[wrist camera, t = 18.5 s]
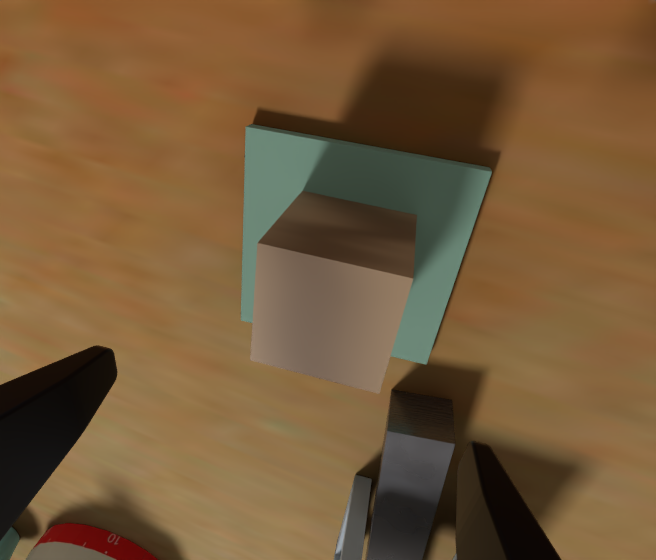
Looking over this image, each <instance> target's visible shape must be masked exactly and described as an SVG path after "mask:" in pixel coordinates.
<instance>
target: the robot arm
mask: <svg viewBox="0 0 656 560" xmlns="http://www.w3.org/2000/svg"><path fill="white" fill-rule="evenodd" d="M116 378H117V367H116V361H115V356H114V352H113V350H112V349H110V348H107V347H103V346H93V347H90V348H88V349H85V350H83V351H81V352H78V353H76V354H73V355H71V356H69V357H66V358H64V359H61V360H59V361H57V362H54V363H52V364H49V365H47V366H45V367H42V368H40V369H37V370H35V371H33V372H30V373H28V374H25V375H23V376H21V377H18V378H16V379H13V380H11V381H9V382H6V383H4V384H1V385H0V541H1V540H2V538H3V537H4V536H5V534H6V533H7V532H8V530H9V529H10V528H11V527H12V525H13V524H14V523H15V521H16V520H17V519H18V517H19V516H20V515H21V513H22V512H23V511H24V510H25V508H26V507H27V506H28V504H29V503H30V502H31V500H32V499H33V498H34V497H35V495H36V494H37V493H38V491H39V490H40V489H41V487H42V486H43V485H44V483H45V482H46V481H47V480H48V478H49V477H50V476H51V474H52V473H53V472H54V470H55V469H56V468H57V466H58V465H59V464H60V463H61V461H62V460H63V459H64V457H65V456H66V455H67V453H68V452H69V451H70V449H71V448H72V447H73V446H74V444H75V443H76V442H77V440H78V439H79V437H80V436H81V435H82V433H83V432H84V430H85V429H86V427H87V426H88V424H89V423H90V421H91V419H92V418H93V416H94V415H95V413H96V411H97V410H98V408H99V406H100V405H101V403H102V402H103V400H104V398H105V397H106V395H107V394H108V392H109V390H110V389H111V387H112V386H113V384H114V382H115V380H116ZM456 554H457V560H561V558H560V557H559V555H558V554H557V552H556V550H555V549H554V547H553V546H552V544H551V542H550V541H549V539H548V538H547V536H546V535H545V533H544V531H543V530H542V528H541V527H540V525H539V523H538V522H537V520H536V519H535V517H534V515H533V514H532V512H531V511H530V509H529V508H528V506H527V504H526V503H525V501H524V500H523V498H522V496H521V495H520V493H519V492H518V490H517V488H516V487H515V485H514V484H513V482H512V481H511V479H510V477H509V476H508V474H507V473H506V471H505V469H504V468H503V466H502V465H501V463H500V461H499V460H498V458H497V457H496V455H495V454H494V452H493V450H492V449H491V447H490V446H489V445H487V444H484V443H480V442H476V441H470V442H469V444H468V445H467V448H466V450H465V452H464V454H463V456H462V458H461V460H460V462H459V466H458V478H457V508H456Z"/></svg>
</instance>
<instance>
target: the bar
mask: <svg viewBox="0 0 656 560" xmlns="http://www.w3.org/2000/svg"><path fill="white" fill-rule="evenodd" d="M454 447H455V434H454V420H453V406H452V400H449V399H443V398H437V397H432V396H426V395H420V394H414V393H409V392H403V391H397V390H391V396H390V403H389V409H388V416H387V422H386V429H385V435H384V442H383V448H382V455H381V461H380V468H379V474H378V480H377V487H376V493H375V500H374V506H373V513H372V519H371V526H370V532H369V539H368V545H367V552H366V558H365V560H422V558H423V555H424V551H425V548H426V544H427V541H428V537H429V534H430V530H431V527H432V523H433V520H434V516H435V513H436V509H437V506H438V502H439V499H440V495H441V492H442V488H443V485H444V481H445V478H446V474H447V471H448V467H449V464H450V461H451V457H452V454H453V450H454Z"/></svg>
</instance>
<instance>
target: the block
mask: <svg viewBox="0 0 656 560" xmlns="http://www.w3.org/2000/svg"><path fill="white" fill-rule="evenodd" d="M416 223H417V215H415V214H410V213H405V212H401V211H396V210H391V209H386V208H382V207H377V206H372V205H368V204H363V203H358V202H354V201H349V200H344V199H339V198H335V197H330V196H325V195H321V194H316V193H311V192H306V191H302V192H301V193H300V194H299V195H298V196H297V198H296V199H295V200H294V201H293V202H292V203H291V205H290V206H289V207H288V208H287V209H286V210H285V211H284V213H283V214H282V215H281V216H280V217H279V218H278V220H277V221H276V222H275V223H274V224H273V225H272V226H271V228H270V229H269V230H268V231H267V232H266V233H265V235H264V236H263V237H262V238H261V239H260V240H259V242H258V243H257V257H256V273H255V290H254V306H253V323H252V339H251V356H250V360H252V361H255V362H259V363H263V364H267V365H271V366H275V367H278V368H282V369H286V370H290V371H294V372H298V373H301V374H305V375H309V376H313V377H317V378H321V379H324V380H328V381H332V382H336V383H340V384H344V385H347V386H351V387H355V388H359V389H363V390H367V391H370V392H374V393H378V394H379V393H380V390H381V386H382V383H383V380H384V376H385V373H386V369H387V366H388V363H389V359H390V356H391V352H392V349H393V346H394V342H395V339H396V336H397V332H398V329H399V325H400V322H401V319H402V315H403V312H404V308H405V305H406V302H407V298H408V295H409V291H410V288H411V285H412V281H413V275H414V258H415V241H416Z"/></svg>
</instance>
